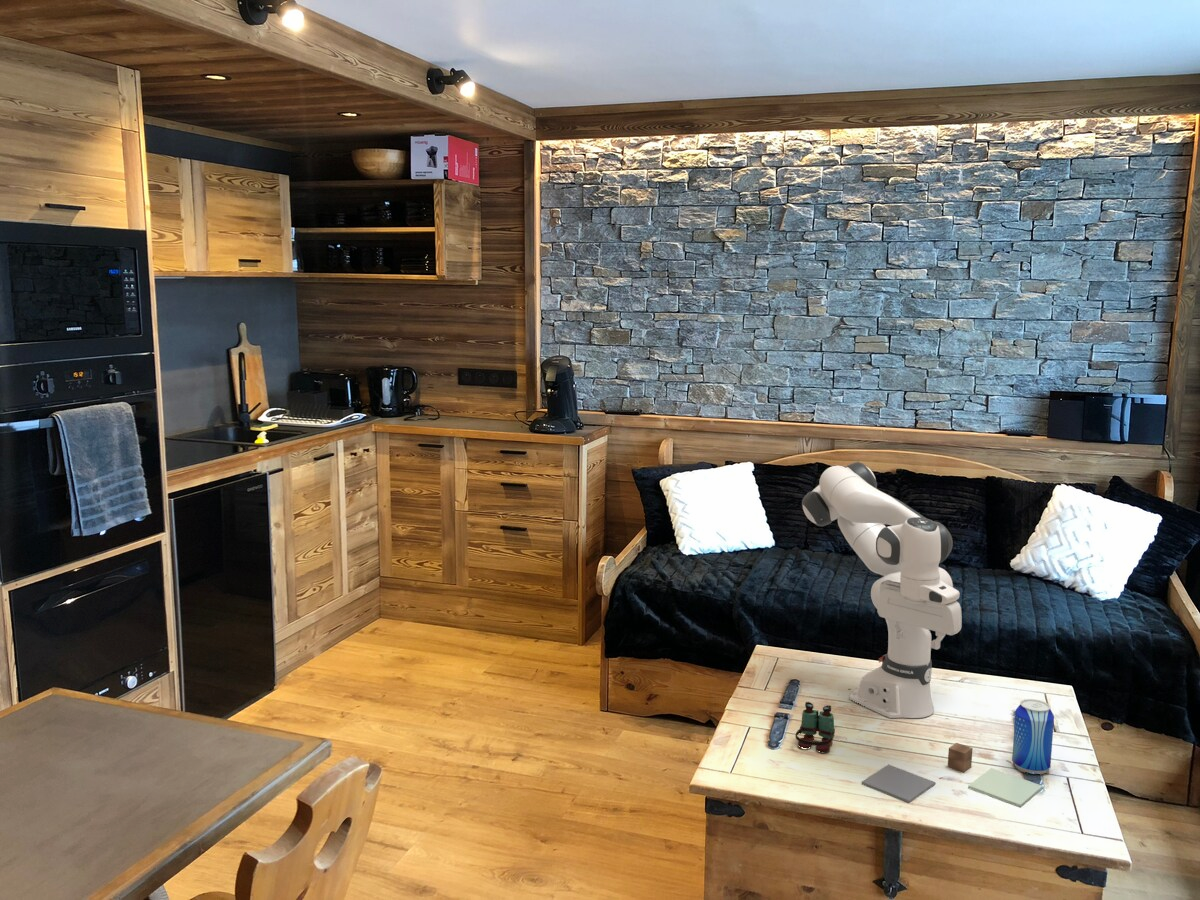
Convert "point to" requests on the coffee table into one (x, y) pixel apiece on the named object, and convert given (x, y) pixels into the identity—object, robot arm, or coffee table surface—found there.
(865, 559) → the robot arm
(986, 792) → the sage tile
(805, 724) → the binoculars
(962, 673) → the coffee table surface
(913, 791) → the slate tile
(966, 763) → the walnut block
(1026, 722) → the beer can
